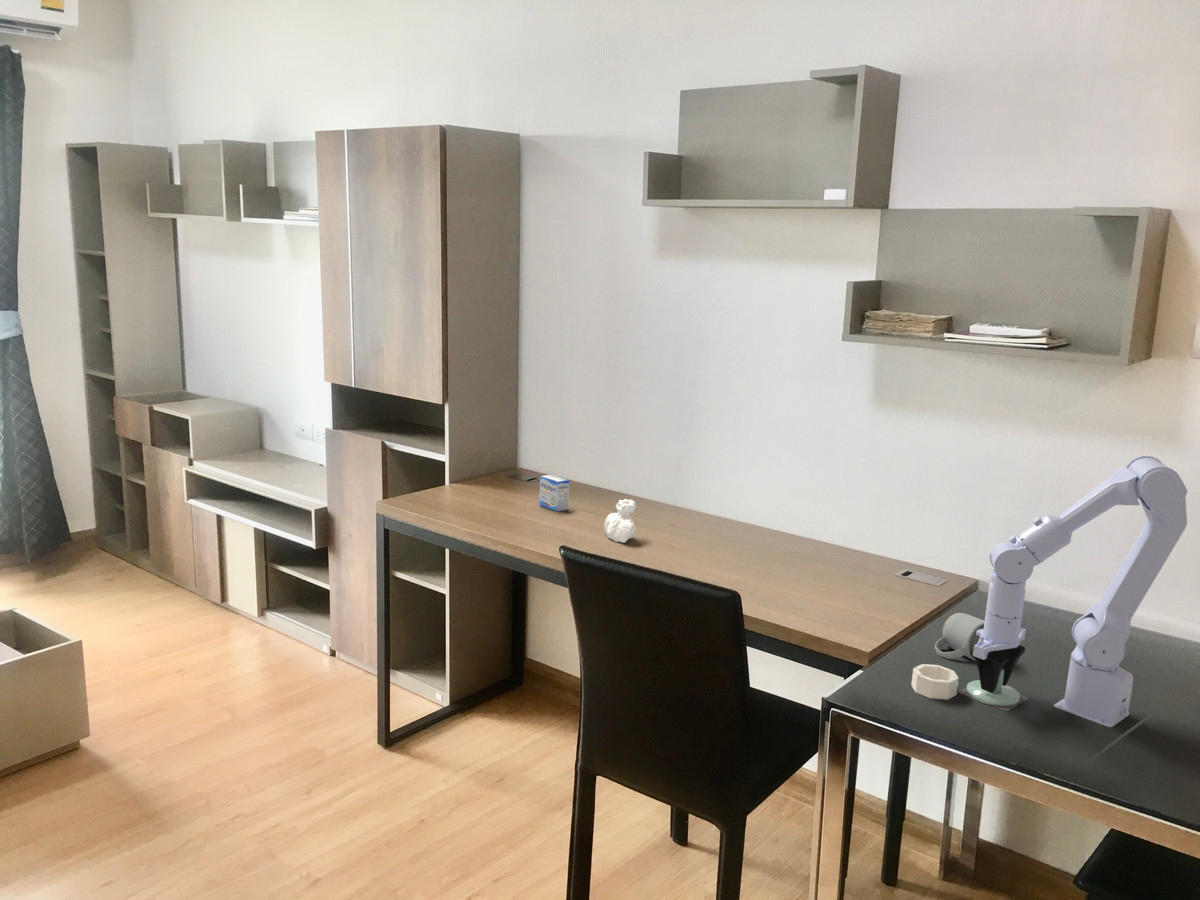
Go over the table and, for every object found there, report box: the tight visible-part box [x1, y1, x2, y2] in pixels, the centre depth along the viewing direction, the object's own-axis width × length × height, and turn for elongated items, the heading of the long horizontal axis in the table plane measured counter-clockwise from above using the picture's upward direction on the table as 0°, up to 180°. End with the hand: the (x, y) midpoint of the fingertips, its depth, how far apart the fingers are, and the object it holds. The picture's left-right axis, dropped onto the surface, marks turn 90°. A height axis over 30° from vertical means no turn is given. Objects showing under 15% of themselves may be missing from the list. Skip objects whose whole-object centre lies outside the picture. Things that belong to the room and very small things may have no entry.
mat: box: [957, 686, 1029, 712], centre depth 173 cm, size 9×8×1 cm
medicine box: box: [538, 474, 570, 512], centre depth 280 cm, size 8×4×9 cm, turn 43°
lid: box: [966, 669, 1021, 707], centre depth 173 cm, size 9×9×5 cm
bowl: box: [910, 663, 959, 700], centre depth 174 cm, size 7×7×4 cm
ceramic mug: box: [934, 612, 985, 662], centre depth 190 cm, size 11×8×8 cm
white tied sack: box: [603, 498, 637, 544], centre depth 254 cm, size 12×8×11 cm
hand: (993, 687), depth 173 cm, fingers open, 4 cm apart
